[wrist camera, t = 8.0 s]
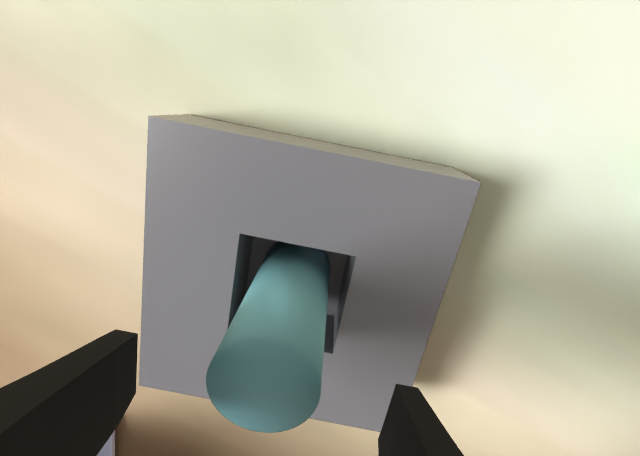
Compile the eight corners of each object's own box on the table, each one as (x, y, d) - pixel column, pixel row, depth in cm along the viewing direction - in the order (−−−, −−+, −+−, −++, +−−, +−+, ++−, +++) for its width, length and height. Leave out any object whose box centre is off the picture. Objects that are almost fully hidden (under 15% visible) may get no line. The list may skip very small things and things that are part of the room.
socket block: (172, 339, 20) (139, 385, 17) (188, 114, 16) (148, 115, 13) (386, 380, 20) (395, 435, 17) (452, 167, 16) (481, 182, 13)
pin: (262, 292, 18) (204, 423, 11) (266, 232, 17) (206, 330, 10) (325, 301, 18) (314, 439, 10) (334, 241, 17) (328, 346, 9)
